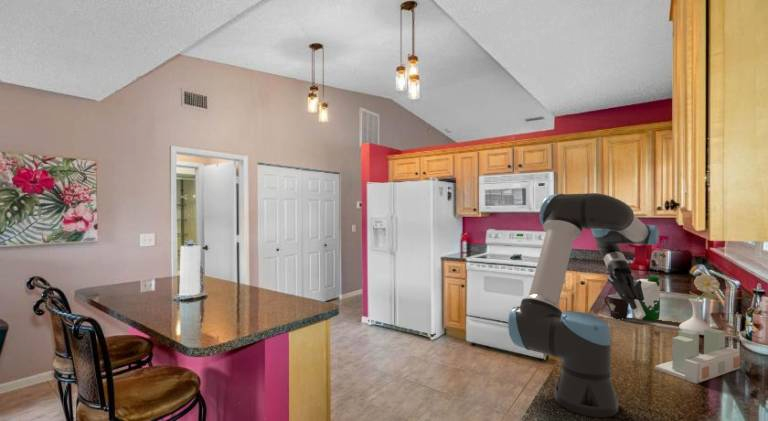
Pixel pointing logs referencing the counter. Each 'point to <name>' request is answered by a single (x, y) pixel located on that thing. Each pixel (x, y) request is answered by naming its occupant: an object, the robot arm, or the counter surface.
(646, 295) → the milk carton
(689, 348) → the pale green tall block
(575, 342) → the robot arm
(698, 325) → the flower in vase
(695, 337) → the middle button
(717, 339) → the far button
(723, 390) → the counter surface
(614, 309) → the coffee mug
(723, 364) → the pattern card
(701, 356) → the button panel
